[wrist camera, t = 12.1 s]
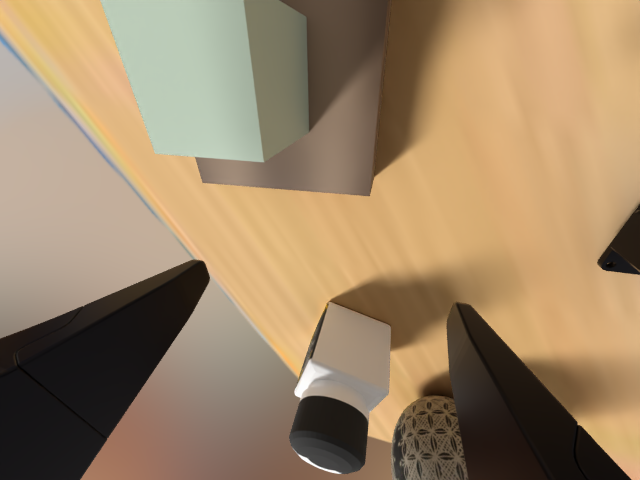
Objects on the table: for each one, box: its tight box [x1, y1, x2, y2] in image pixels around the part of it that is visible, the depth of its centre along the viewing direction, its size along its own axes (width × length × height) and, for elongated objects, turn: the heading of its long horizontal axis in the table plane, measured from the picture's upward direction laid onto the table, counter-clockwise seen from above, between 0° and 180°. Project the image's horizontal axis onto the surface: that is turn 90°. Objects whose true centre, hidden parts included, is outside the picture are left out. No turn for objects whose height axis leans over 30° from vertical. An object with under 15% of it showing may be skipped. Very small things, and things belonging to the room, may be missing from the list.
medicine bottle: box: [289, 302, 391, 474], centre depth 24 cm, size 7×7×12 cm
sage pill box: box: [100, 0, 309, 162], centre depth 11 cm, size 5×5×6 cm
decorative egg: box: [391, 395, 468, 480], centre depth 25 cm, size 12×12×15 cm
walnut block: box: [195, 0, 392, 196], centre depth 15 cm, size 12×12×4 cm
